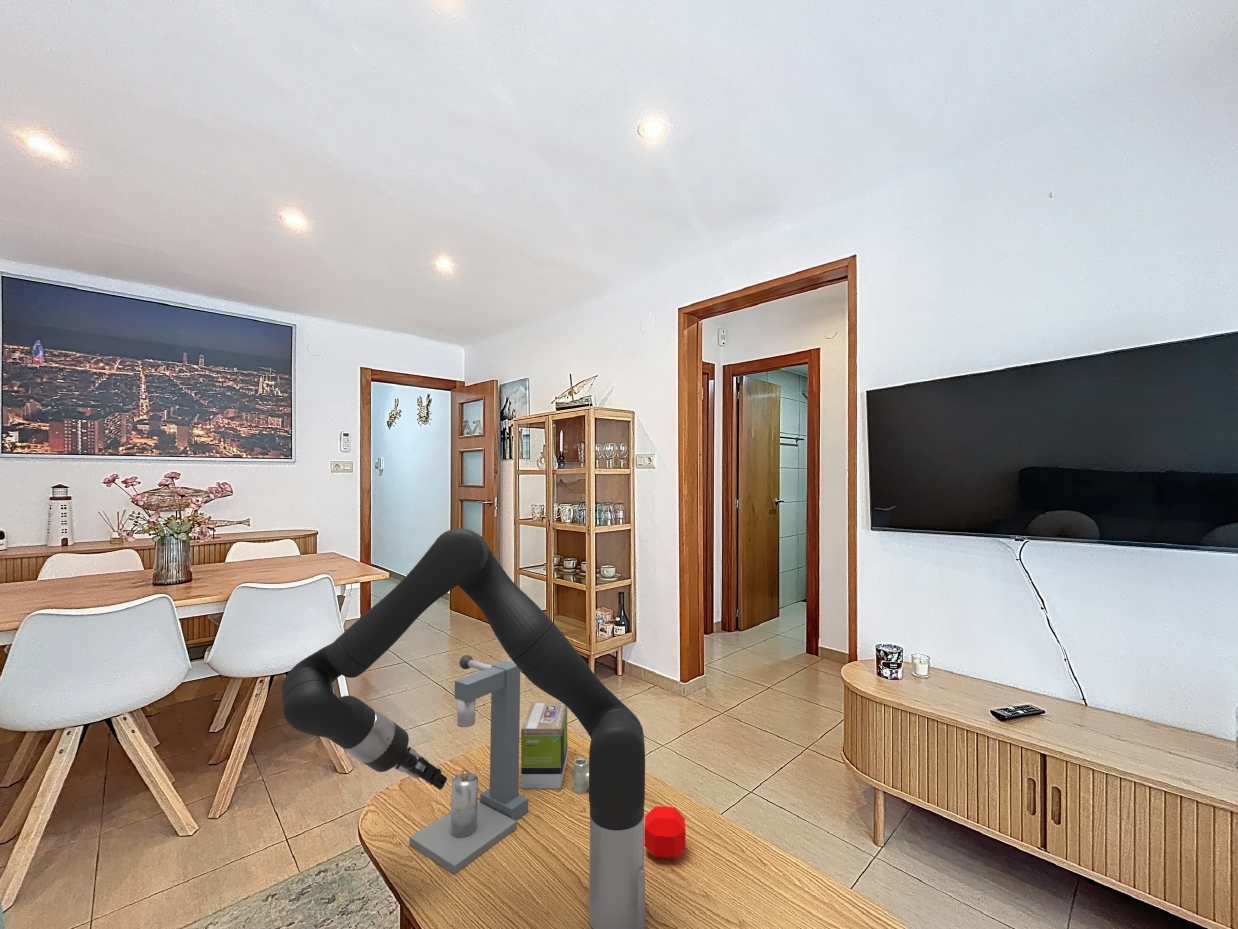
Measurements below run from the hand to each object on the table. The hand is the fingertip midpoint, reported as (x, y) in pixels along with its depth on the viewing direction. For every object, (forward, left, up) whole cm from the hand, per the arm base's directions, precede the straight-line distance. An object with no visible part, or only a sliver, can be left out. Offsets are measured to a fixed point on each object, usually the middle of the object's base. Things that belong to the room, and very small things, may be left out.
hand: (429, 776), depth 103 cm
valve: (-32, -22, -16) cm, 42 cm away
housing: (-5, -7, -14) cm, 17 cm away
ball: (-46, -2, -16) cm, 49 cm away
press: (-3, -12, -16) cm, 20 cm away
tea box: (-19, -31, -16) cm, 40 cm away
